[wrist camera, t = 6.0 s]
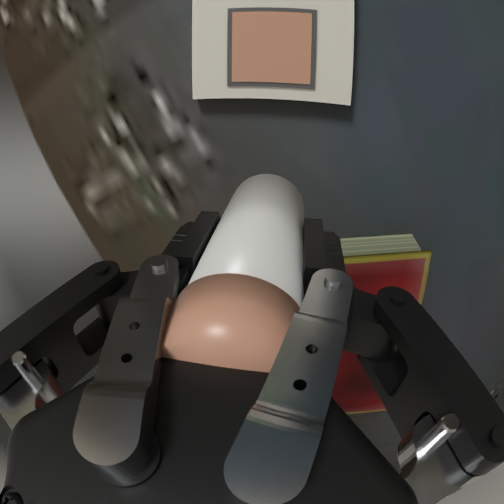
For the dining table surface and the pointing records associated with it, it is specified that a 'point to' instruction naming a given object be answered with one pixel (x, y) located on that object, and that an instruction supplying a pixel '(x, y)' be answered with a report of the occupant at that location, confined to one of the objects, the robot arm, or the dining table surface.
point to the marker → (243, 281)
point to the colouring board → (273, 49)
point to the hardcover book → (371, 281)
